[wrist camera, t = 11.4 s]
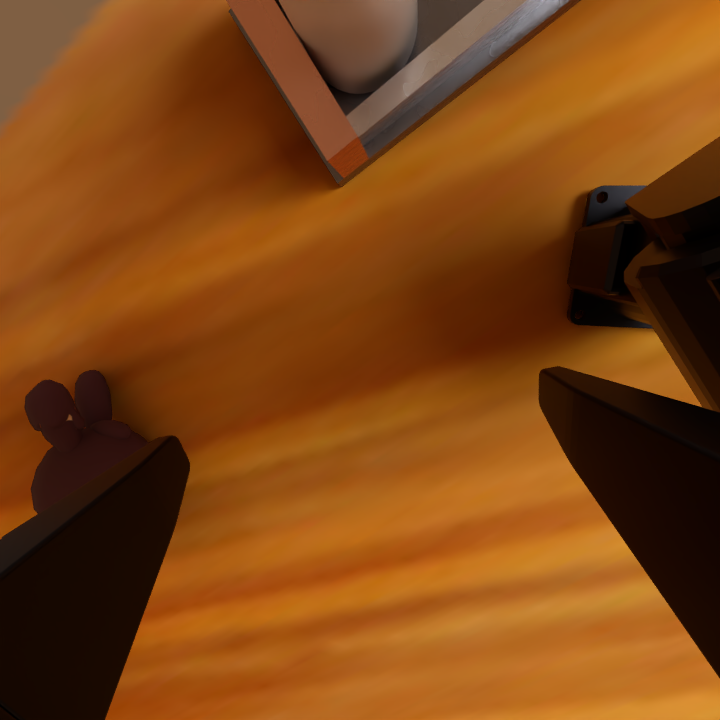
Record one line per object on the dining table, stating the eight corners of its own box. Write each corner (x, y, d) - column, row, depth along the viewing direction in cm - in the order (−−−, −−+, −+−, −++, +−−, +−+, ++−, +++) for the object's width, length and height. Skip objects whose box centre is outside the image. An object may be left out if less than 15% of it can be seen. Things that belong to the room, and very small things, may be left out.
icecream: (172, 629, 21) (95, 371, 19) (37, 661, 21) (-58, 400, 18) (210, 550, 28) (158, 355, 26) (109, 573, 28) (47, 376, 25)
